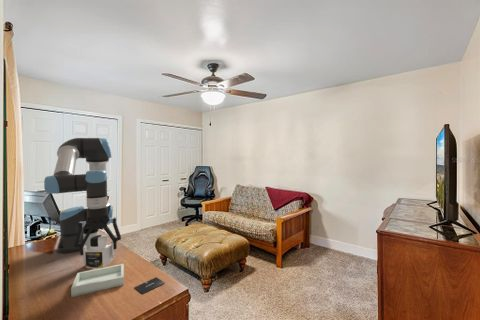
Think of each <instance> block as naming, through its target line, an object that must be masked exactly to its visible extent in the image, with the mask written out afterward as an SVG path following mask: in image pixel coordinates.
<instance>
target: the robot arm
mask: <svg viewBox="0 0 480 320" xmlns="http://www.w3.org/2000/svg"><path fill="white" fill-rule="evenodd" d="M56 151H57V152H56V155H57V161H56V165H55V168H54V172H53V175H47V176H45V177H44V179H43V180H44V184H43V187H44V191H45V193H46V194H48V195H49V194H57V195H58V194H65V193H77V192H79V193H80V192H86V208H85V207H84V206H82V205H81V206H74V207H70V208H66V209H64V210H63V211H61V212H59V229H60V230H59V232H60V234H59V238H60V239H59V241H58V243H57V246H56V247H57V248H56V252H57V253H60V254H68V253H70V254H71V253H76V252H78V251H79V254H80V256H83V257H82V258H83V264H84V265H85V263H86V255H85V252H86V251H87V250H86V245H85V246H84V244H85V242H86V241H87V239H88V237H89V235H90V233H91V232H92V230H97V229H98V230H102V229H103V230H104V231H105V232H106V234H107V235H108V237H109V238H110V239H111V242H110V243H111V244H110V245H111V249H112V259H114V258H115V250H117V248H118V246H117V244H118V243H117V242H118V241H121V240H122V236H121V232H120V230H119V226H118V224H117V217H116V216H114V217H113V214H114V213H113V211H114V210H113V209H114V207H113V205H111V203H110V201H109V200H108V175H107V163H109V161H110V159H111V158H112V152H111V146H110V141H109V139H108V138H104V137H103V138H101V137H75V138H71V139H68V140H67V141H65V142H63V143H62V144H61V145H60V146H59V147H58V149H57V150H56ZM78 159H85V162H86V163H87V164H88V165H89V166H88V167H89V170H87V171H86V172H85V173H84V174H83V173H82V174H75V172H76V167H77V160H78ZM110 224H112V226H113V229H114V232H115V234H114V233H113V232H112V230H111V229H110V228H109V225H110ZM88 226H89V227H90V228H89V230H88V232H87V234H86V236H85V238H84V236H83V235H84V234H83V233H84V231H83V228H85V227H88ZM115 235H116V236H115Z"/></svg>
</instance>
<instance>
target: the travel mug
mask: <svg viewBox="0 0 480 320" xmlns="http://www.w3.org/2000/svg"><path fill="white" fill-rule="evenodd" d="M89 228H90V227H89V226H88V227H85V228H83V231H84V233H83V234H84V235H83V236H84V238H85V236H86V234H87V232H88V230H89ZM97 235H100V234H99V229H97V230H92V232H91V233H90V235H89V237H88V239H87V241H86V242H85V244H84V246H85V245H86V250H89V249H90V248H91V247H90V239H91V238H92V237H94V236H97ZM84 268H85V269H87V268H86V263H85V264H84Z"/></svg>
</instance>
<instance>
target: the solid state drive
mask: <svg viewBox="0 0 480 320" xmlns="http://www.w3.org/2000/svg"><path fill="white" fill-rule="evenodd" d="M163 285H165V281H163V280H162V279H160V278H158V277H157V276H156V277H154V278H152V279H150V280H147V281H145V282H143V283H141V284H138V285H137V286H134V289H135V290H136V291H137V292H138V293H140V294H141V295H144V294H146V293H149V292H151V291H153V290H155V289H157V288H158V287H161V286H163Z"/></svg>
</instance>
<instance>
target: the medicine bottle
mask: <svg viewBox="0 0 480 320" xmlns="http://www.w3.org/2000/svg"><path fill="white" fill-rule="evenodd" d="M90 247H91V248H90V249H89V250H87V251H86V252H85V255H86V268H85V269H99V268H104V267H107V265H109V264H110V263H111V262H112V261H113V258H112V249H111V244H108V237H107V235H105V234H99V235H97V236H94V237H92V238H91V239H90Z"/></svg>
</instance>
